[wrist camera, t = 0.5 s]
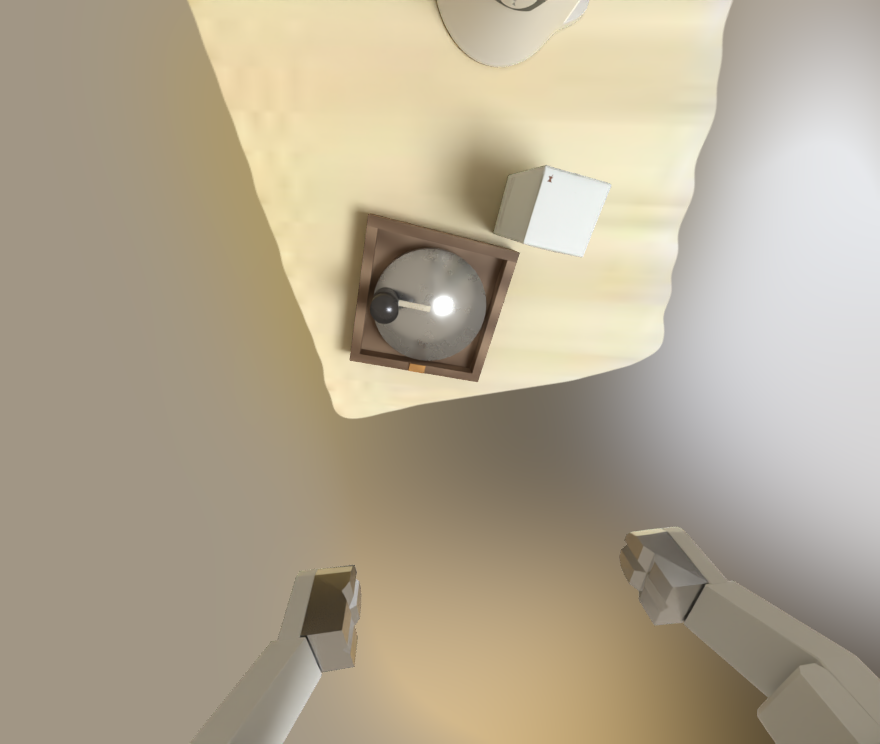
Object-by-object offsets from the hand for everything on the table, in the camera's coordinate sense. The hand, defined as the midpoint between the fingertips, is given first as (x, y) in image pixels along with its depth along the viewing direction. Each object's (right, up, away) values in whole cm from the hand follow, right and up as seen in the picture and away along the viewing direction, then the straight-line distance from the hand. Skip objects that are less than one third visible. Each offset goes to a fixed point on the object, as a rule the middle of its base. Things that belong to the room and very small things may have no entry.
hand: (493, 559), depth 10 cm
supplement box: (+10, +27, +35) cm, 45 cm away
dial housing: (-3, +16, +39) cm, 42 cm away
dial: (-3, +15, +38) cm, 41 cm away
